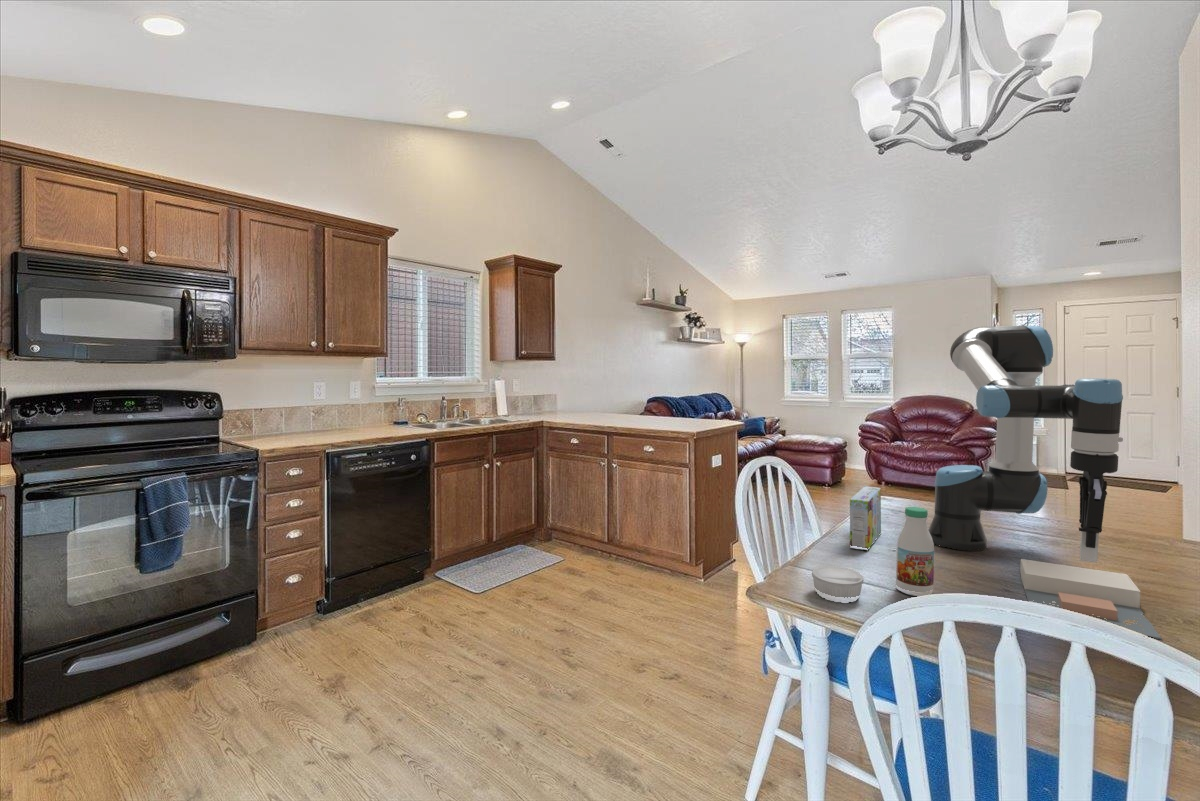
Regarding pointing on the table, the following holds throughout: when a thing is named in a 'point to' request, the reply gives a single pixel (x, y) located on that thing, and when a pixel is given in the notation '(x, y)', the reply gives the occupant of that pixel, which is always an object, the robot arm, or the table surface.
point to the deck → (1079, 582)
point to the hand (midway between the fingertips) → (1088, 560)
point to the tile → (1087, 605)
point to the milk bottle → (915, 553)
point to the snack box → (865, 517)
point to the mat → (1122, 615)
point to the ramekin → (837, 581)
